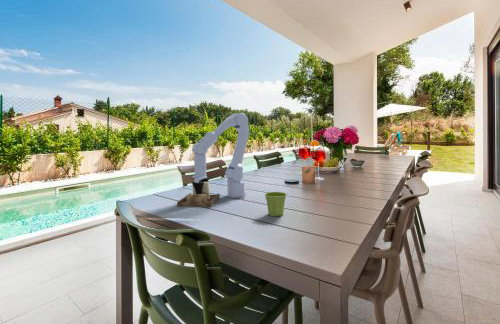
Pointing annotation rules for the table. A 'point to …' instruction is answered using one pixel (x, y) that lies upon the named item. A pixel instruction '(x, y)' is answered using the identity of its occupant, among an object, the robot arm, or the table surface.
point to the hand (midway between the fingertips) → (201, 194)
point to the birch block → (204, 189)
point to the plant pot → (275, 203)
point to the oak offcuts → (197, 198)
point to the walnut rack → (209, 203)
